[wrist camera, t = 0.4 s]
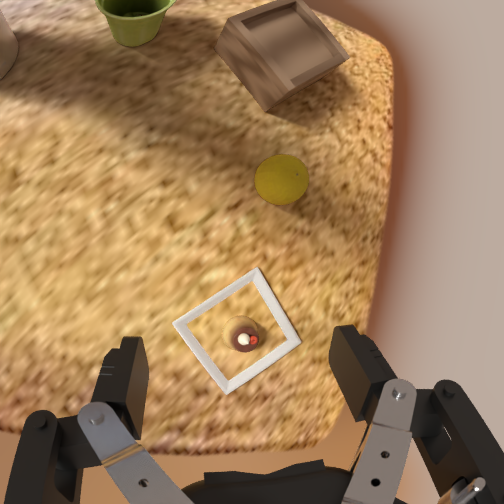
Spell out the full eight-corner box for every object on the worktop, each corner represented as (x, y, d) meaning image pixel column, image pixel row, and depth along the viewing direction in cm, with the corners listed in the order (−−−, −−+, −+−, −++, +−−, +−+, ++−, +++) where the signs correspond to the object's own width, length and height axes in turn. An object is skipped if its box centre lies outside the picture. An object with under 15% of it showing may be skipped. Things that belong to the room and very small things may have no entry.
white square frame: (298, 339, 42) (315, 351, 37) (224, 391, 39) (233, 409, 35) (254, 265, 39) (268, 270, 35) (170, 320, 36) (174, 332, 32)
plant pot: (180, 10, 33) (190, -31, 25) (160, 63, 33) (166, 24, 25) (115, 1, 30) (114, -40, 22) (90, 53, 30) (80, 15, 22)
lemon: (258, 214, 38) (286, 211, 31) (238, 172, 37) (261, 158, 30) (295, 195, 40) (329, 188, 32) (277, 155, 38) (307, 139, 31)
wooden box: (213, 49, 35) (228, 18, 28) (274, 22, 37) (296, -6, 30) (264, 112, 38) (289, 90, 31) (321, 78, 40) (350, 57, 33)
